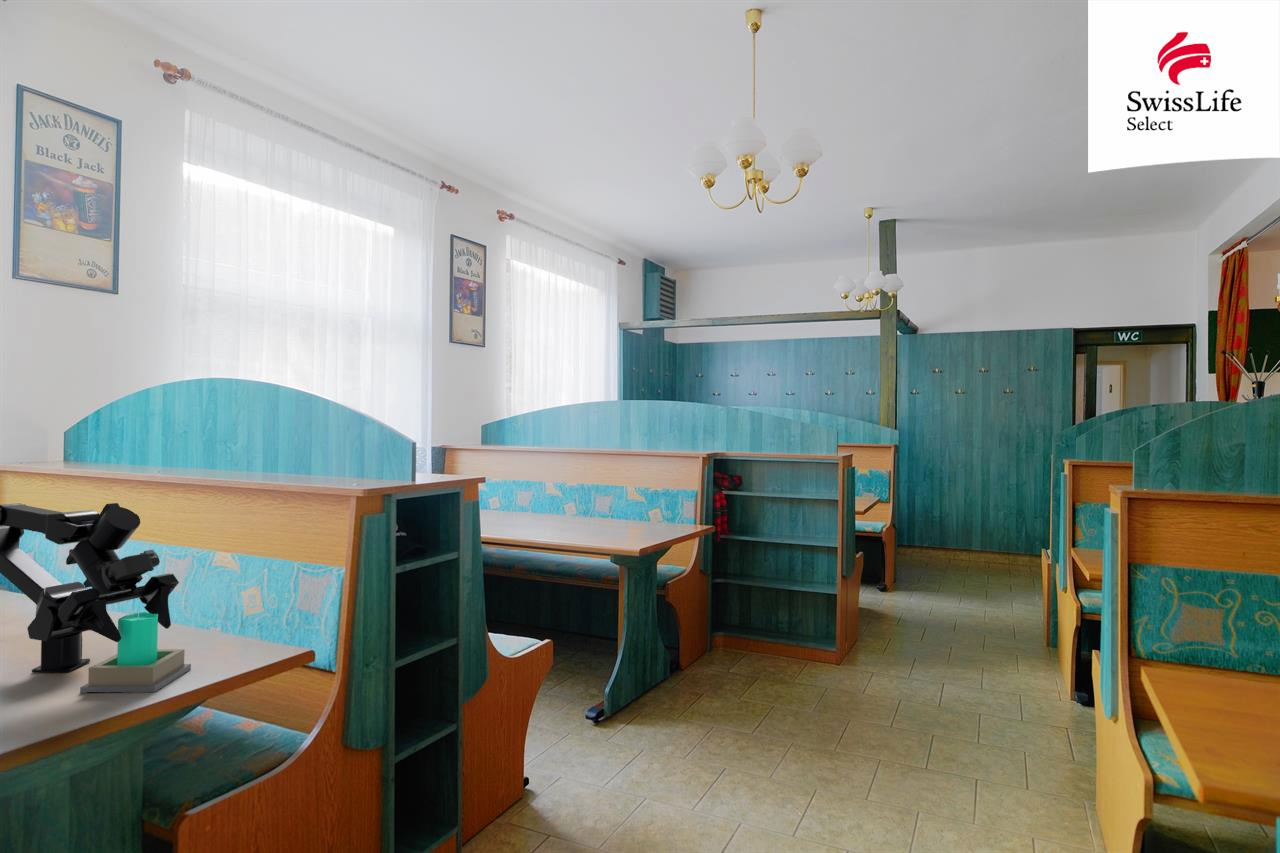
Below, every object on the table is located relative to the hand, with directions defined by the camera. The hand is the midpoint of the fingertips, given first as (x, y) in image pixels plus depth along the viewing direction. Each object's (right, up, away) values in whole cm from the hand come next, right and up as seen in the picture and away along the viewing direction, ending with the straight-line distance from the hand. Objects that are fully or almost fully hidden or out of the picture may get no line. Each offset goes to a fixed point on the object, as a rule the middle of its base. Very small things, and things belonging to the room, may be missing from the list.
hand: (144, 633), depth 131 cm
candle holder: (-2, -9, 0) cm, 9 cm away
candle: (-2, -8, 0) cm, 8 cm away
